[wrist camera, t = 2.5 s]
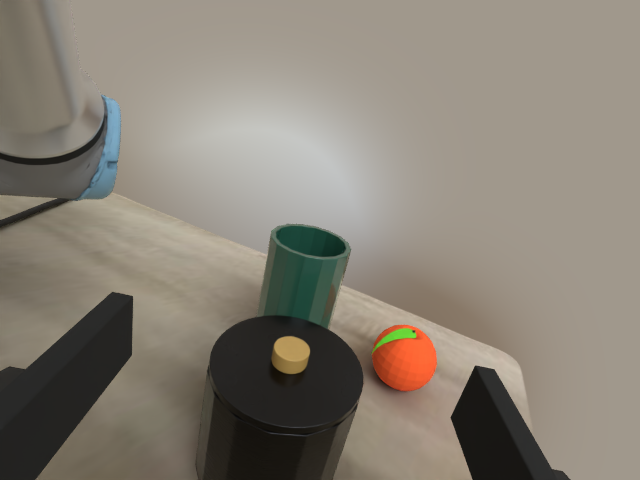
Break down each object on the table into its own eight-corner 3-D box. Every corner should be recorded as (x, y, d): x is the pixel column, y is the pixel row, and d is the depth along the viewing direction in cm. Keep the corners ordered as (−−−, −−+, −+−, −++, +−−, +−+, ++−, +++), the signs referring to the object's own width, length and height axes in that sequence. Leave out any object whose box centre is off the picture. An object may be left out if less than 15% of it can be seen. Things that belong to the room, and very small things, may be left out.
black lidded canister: (185, 417, 32) (196, 310, 27) (299, 390, 37) (323, 297, 33) (215, 559, 23) (237, 435, 19) (357, 497, 29) (399, 389, 24)
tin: (242, 330, 44) (260, 223, 38) (303, 322, 48) (326, 224, 42) (265, 381, 37) (290, 260, 32) (333, 366, 41) (365, 257, 36)
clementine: (376, 412, 37) (396, 357, 34) (346, 363, 42) (362, 312, 40) (437, 400, 40) (460, 349, 37) (402, 356, 46) (420, 309, 43)
